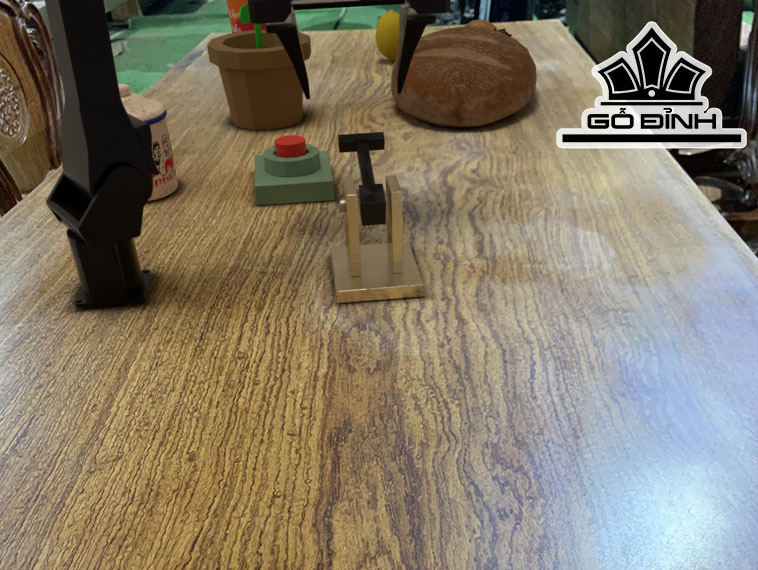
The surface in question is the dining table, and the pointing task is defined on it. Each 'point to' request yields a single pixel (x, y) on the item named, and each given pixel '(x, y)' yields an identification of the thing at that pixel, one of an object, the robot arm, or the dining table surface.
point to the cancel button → (290, 146)
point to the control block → (293, 177)
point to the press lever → (367, 175)
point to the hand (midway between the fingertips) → (353, 95)
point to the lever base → (374, 253)
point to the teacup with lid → (154, 139)
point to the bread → (466, 77)
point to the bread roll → (486, 25)
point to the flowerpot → (259, 77)
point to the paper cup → (234, 4)
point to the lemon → (388, 35)
